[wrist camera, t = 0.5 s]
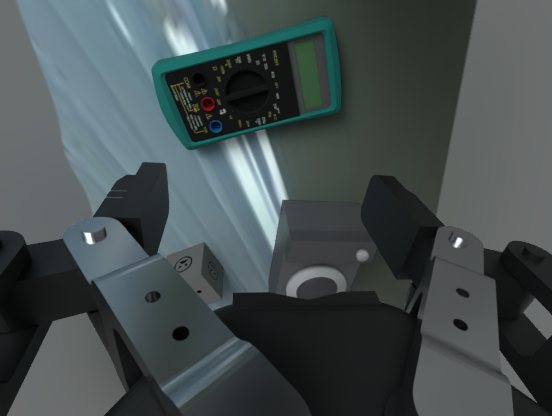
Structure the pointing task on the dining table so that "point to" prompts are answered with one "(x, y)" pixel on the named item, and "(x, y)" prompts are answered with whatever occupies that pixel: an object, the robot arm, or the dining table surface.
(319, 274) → the camera body
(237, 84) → the digital multimeter
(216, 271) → the dice cube
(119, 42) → the dining table surface
